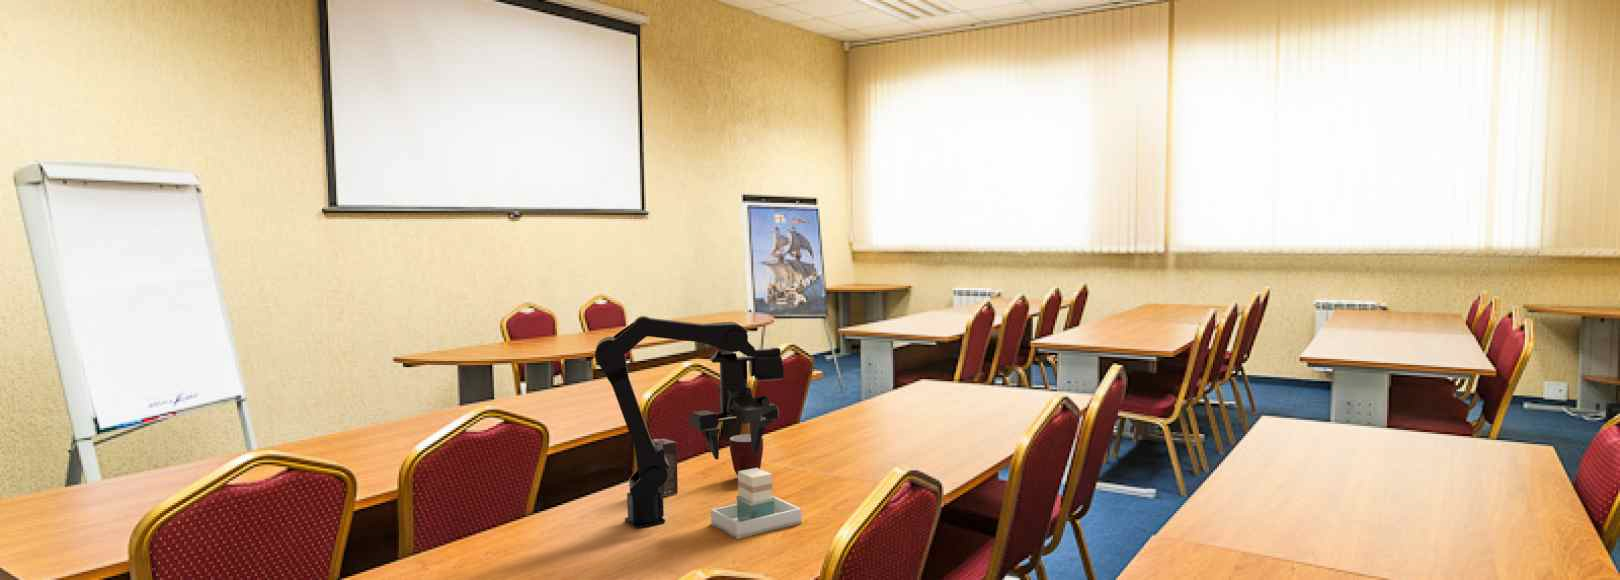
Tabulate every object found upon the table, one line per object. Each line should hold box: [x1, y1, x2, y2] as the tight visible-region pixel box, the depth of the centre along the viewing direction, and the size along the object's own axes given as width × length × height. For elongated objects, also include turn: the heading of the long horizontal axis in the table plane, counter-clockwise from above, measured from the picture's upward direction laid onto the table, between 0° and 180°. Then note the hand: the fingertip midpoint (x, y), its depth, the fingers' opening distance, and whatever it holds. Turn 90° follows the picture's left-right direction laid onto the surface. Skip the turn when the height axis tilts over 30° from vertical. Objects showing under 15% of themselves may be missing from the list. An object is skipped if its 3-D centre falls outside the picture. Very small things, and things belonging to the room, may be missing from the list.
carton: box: [737, 468, 773, 502], centre depth 180 cm, size 6×4×5 cm
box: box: [652, 437, 679, 497], centre depth 204 cm, size 6×4×12 cm
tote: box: [710, 495, 803, 540], centre depth 181 cm, size 15×11×3 cm
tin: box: [735, 494, 776, 521], centre depth 180 cm, size 6×6×5 cm
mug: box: [729, 433, 764, 477], centre depth 212 cm, size 11×8×10 cm
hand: (735, 455), depth 186 cm, fingers open, 9 cm apart
